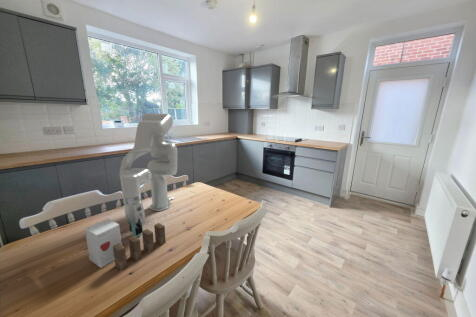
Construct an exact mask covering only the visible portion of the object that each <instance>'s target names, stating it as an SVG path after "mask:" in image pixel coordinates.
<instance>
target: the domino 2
mask: <svg viewBox="0 0 476 317" xmlns="http://www.w3.org/2000/svg"><path fill="white" fill-rule="evenodd" d="M130 223H131V230H132V232H131V235H132V236H135V237H137V238H139V237H140V236H142V233H141V234H139V235H136V232H135V228H136V226H135V223H134V222H132V221H130ZM139 223H140V222H138V223H137V225H138V224H139Z"/></svg>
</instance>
